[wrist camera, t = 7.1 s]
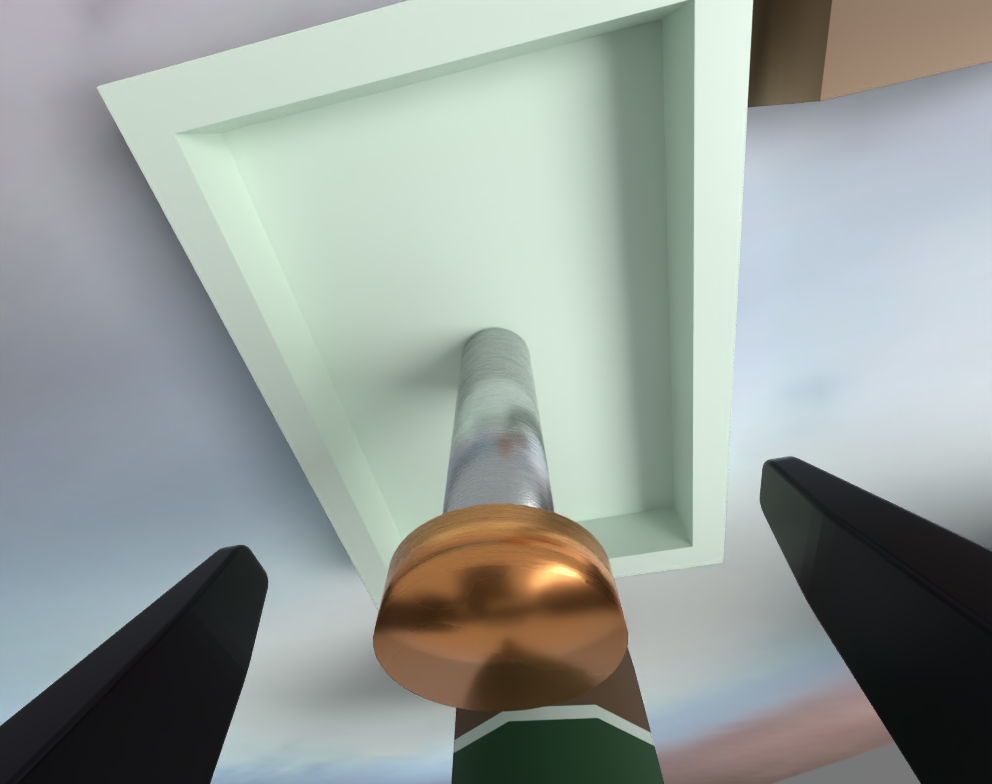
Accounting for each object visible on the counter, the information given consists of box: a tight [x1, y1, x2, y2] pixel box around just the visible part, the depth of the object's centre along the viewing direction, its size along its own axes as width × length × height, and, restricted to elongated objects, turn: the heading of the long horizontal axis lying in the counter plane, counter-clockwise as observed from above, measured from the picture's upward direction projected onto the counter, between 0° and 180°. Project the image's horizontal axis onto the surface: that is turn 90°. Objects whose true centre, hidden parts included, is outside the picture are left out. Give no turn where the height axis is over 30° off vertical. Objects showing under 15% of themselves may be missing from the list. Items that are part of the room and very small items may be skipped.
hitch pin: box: [373, 328, 628, 712], centre depth 10 cm, size 3×3×8 cm
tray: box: [97, 0, 753, 611], centre depth 13 cm, size 16×12×2 cm
